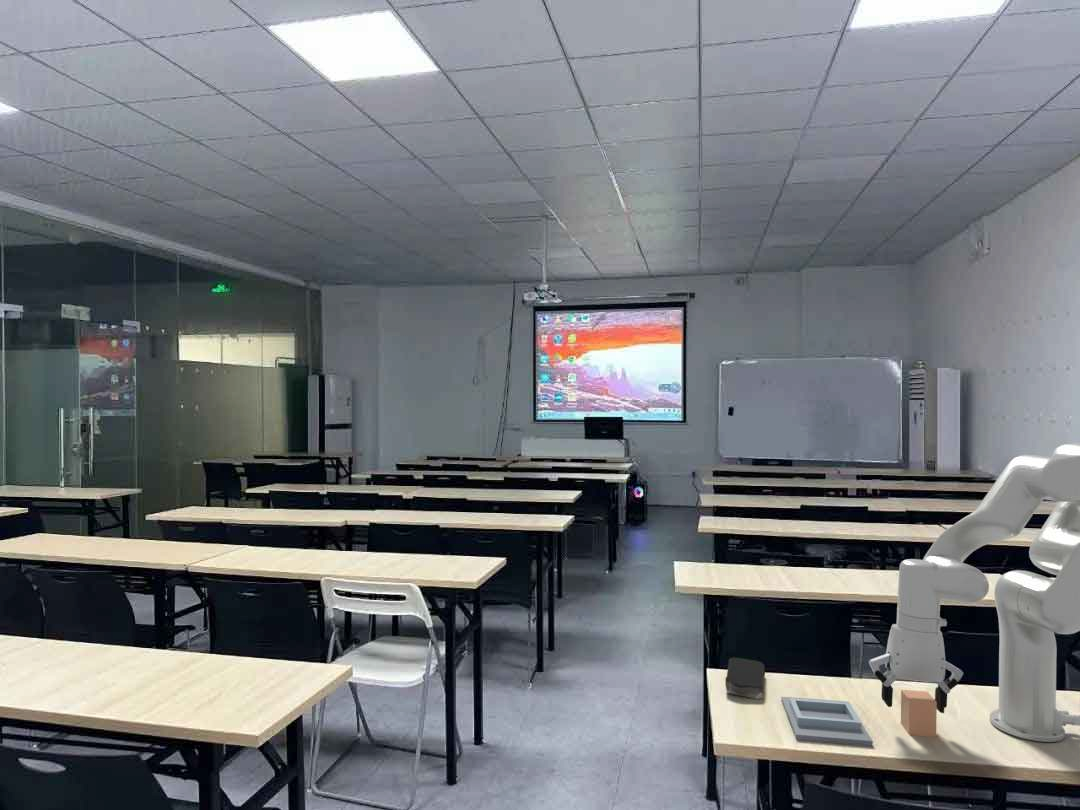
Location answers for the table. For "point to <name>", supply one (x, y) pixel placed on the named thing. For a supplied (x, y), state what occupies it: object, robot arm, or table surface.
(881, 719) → the table surface
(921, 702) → the orange rectangular block
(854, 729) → the holder dock
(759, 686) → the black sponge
